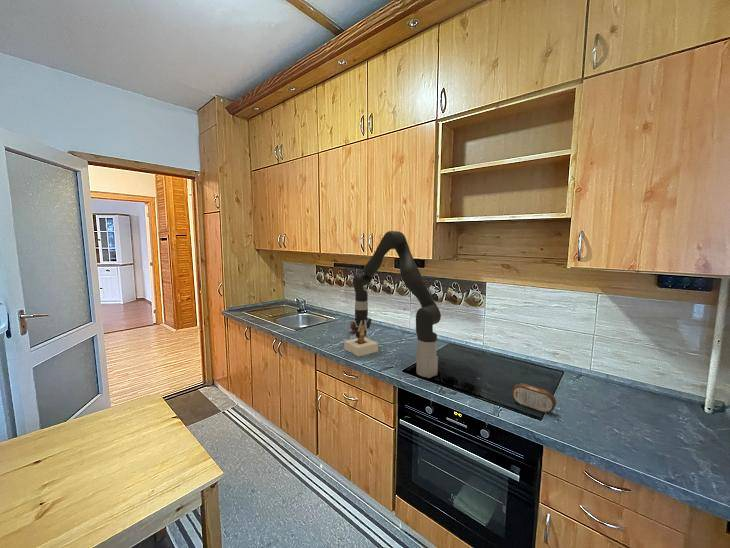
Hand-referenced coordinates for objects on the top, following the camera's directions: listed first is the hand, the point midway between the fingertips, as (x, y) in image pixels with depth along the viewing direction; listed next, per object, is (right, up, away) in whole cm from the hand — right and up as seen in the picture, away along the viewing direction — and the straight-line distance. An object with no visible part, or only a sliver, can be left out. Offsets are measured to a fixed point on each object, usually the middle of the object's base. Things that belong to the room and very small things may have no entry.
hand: (361, 336), depth 175 cm
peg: (0, -4, 0) cm, 4 cm away
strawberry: (-5, -4, +34) cm, 34 cm away
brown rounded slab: (+68, -16, -58) cm, 90 cm away
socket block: (0, -8, +1) cm, 8 cm away
